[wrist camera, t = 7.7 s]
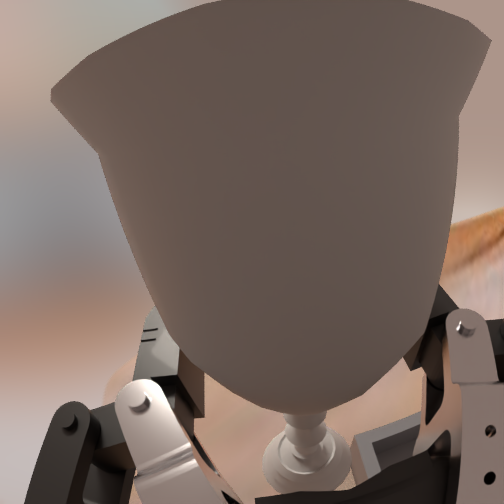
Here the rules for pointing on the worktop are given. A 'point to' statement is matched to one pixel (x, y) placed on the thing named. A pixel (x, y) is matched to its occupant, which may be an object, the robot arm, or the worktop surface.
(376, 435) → the box
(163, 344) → the robot arm
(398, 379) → the worktop surface
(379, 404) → the worktop surface
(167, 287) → the chalice
